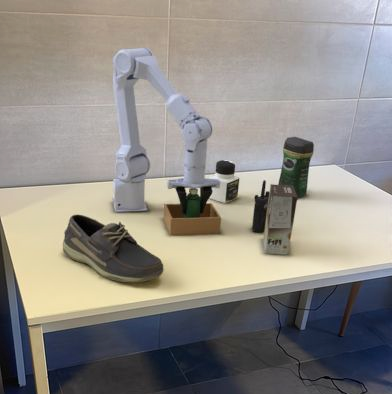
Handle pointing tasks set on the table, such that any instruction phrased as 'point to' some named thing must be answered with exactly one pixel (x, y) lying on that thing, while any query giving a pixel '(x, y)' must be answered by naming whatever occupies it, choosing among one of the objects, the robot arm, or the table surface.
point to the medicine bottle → (225, 182)
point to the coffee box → (279, 219)
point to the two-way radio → (260, 210)
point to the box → (191, 221)
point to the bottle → (192, 204)
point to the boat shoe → (109, 250)
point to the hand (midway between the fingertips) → (191, 212)
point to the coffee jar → (296, 164)
